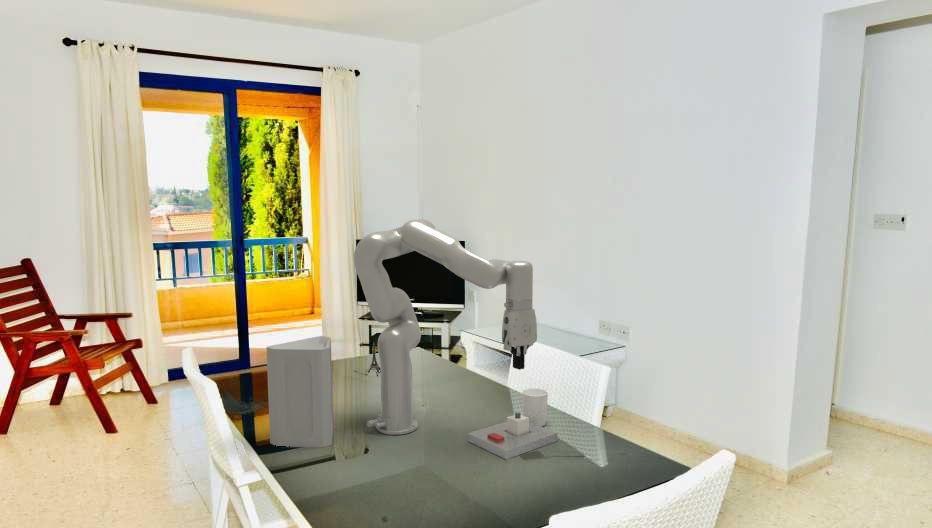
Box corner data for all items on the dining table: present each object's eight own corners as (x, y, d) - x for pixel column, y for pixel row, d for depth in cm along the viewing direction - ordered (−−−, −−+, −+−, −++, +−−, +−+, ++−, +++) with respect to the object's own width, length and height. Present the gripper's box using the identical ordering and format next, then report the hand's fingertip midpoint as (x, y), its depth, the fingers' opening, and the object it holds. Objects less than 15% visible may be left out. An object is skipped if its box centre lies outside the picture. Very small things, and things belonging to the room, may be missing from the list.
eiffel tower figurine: (352, 371, 246) (351, 340, 245) (372, 367, 254) (372, 336, 252) (373, 379, 236) (373, 346, 235) (394, 374, 243) (393, 341, 242)
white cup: (546, 428, 181) (547, 396, 180) (520, 427, 183) (520, 395, 182) (548, 419, 189) (548, 388, 188) (523, 418, 191) (523, 387, 190)
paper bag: (298, 456, 162) (294, 355, 159) (268, 442, 172) (265, 346, 169) (354, 436, 176) (352, 342, 174) (324, 424, 186) (321, 335, 183)
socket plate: (506, 459, 160) (506, 447, 159) (468, 441, 172) (468, 430, 172) (557, 440, 172) (557, 430, 172) (518, 425, 185) (518, 415, 184)
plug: (517, 442, 170) (517, 417, 169) (506, 437, 174) (506, 413, 173) (528, 438, 173) (529, 413, 172) (518, 433, 176) (518, 409, 176)
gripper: (508, 309, 162) (508, 375, 164) (547, 303, 171) (546, 366, 173) (490, 305, 168) (490, 370, 170) (528, 300, 177) (527, 361, 179)
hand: (518, 368), depth 171 cm, fingers closed
